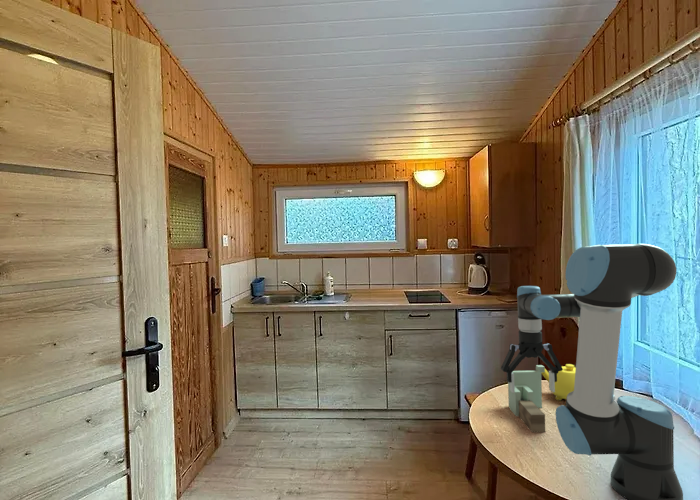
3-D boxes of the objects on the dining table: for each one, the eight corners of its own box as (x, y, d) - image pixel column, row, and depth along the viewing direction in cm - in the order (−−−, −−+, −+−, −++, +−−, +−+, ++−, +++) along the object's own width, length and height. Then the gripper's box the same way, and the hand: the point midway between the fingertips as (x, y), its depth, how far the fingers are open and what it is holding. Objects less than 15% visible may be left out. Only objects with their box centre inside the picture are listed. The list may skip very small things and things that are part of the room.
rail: (545, 432, 139) (544, 414, 139) (531, 432, 139) (531, 414, 139) (526, 411, 156) (526, 395, 155) (514, 411, 156) (514, 396, 156)
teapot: (532, 396, 170) (531, 363, 169) (546, 386, 181) (545, 355, 180) (586, 409, 155) (585, 373, 155) (597, 397, 166) (597, 363, 166)
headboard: (553, 415, 151) (552, 372, 151) (515, 416, 152) (514, 373, 151) (542, 405, 160) (542, 365, 160) (507, 406, 161) (506, 365, 161)
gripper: (561, 327, 147) (563, 387, 147) (490, 329, 148) (492, 388, 148) (571, 331, 140) (574, 394, 139) (497, 333, 141) (499, 395, 141)
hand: (532, 391), depth 144 cm, fingers open, 13 cm apart
